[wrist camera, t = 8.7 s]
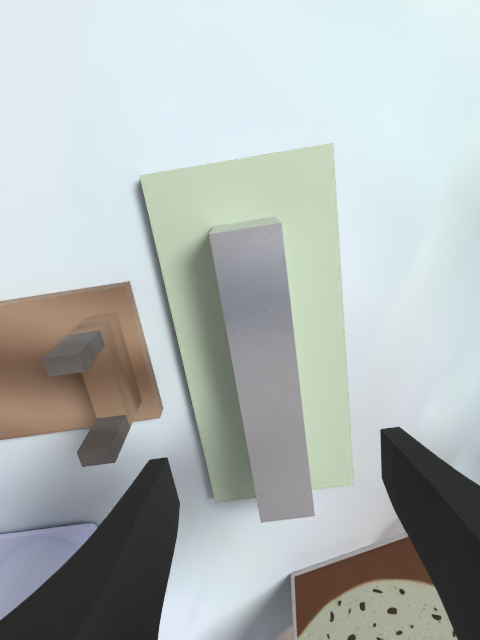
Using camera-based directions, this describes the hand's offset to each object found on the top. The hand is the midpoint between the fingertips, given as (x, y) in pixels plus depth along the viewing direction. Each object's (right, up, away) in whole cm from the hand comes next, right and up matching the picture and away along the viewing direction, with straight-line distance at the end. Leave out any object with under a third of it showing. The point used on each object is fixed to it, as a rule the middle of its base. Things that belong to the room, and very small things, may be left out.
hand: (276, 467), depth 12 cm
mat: (0, +3, +9) cm, 9 cm away
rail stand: (-14, +2, +9) cm, 17 cm away
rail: (0, +2, +8) cm, 9 cm away
